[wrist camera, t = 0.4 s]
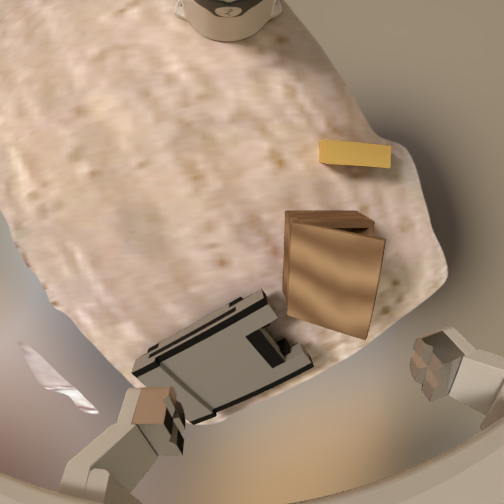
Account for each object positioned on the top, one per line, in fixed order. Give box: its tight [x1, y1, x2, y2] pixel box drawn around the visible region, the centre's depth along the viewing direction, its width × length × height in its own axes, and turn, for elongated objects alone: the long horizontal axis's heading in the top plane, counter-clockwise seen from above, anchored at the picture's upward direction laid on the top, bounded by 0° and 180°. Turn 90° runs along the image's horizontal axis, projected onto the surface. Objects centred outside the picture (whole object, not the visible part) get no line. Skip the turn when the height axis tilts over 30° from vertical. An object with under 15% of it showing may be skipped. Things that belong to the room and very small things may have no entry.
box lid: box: [287, 222, 386, 340], centre depth 45 cm, size 16×14×1 cm
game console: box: [132, 289, 314, 425], centre depth 61 cm, size 21×32×8 cm, turn 122°
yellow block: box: [319, 140, 391, 168], centre depth 49 cm, size 4×12×5 cm, turn 90°
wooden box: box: [282, 211, 375, 305], centre depth 54 cm, size 16×14×8 cm
